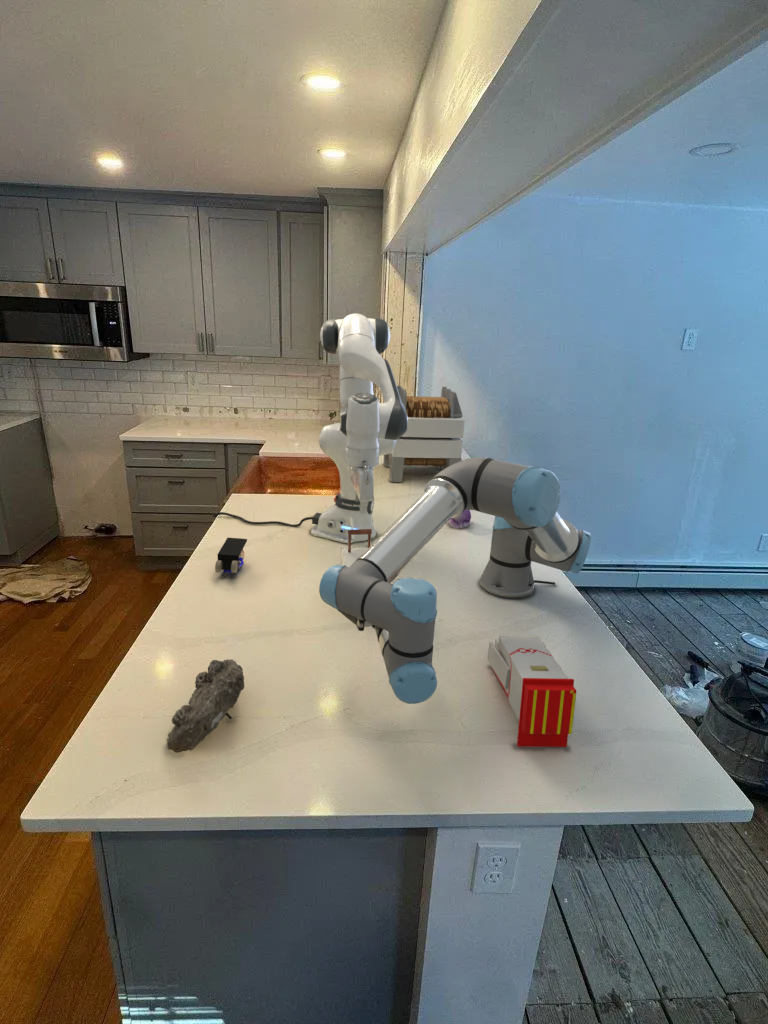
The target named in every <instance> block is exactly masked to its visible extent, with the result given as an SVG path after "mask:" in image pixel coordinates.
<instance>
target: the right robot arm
mask: <svg viewBox="0 0 768 1024" xmlns="http://www.w3.org/2000/svg"><path fill="white" fill-rule="evenodd" d="M560 489H561V484H560V481H559V478H558V476H557V475H556V474H555V473H554V472H552V471H551V470H547V469H545V468H542V467H540V466H530V465H525V464H519V463H515V462H509V461H505V460H501V459H495V458H491V457H486V456H475V457H470V458H465V459H463V460H462V461H460V462H457V463H455V464H453V465H451V466H449V467H447V468H445V469H444V470H442V471H441V472H440V471H439V472H438V473H436V474H435V475H434V476H433V477H432V478H431V479H430V480H429V481H428V482H427V483H426V484H425V486H424V490H423V493H422V494H421V496H419V498H418V499H416V500H415V501H414V502H413V503H412V505H410V506H409V507H408V508H407V509H406V510H405V511H404V512H403V513H402V514H401V515H400V516H399V517H398V518H397V519H396V520H395V521H394V522H393V523H392V524H391V525H390V526H389V527H388V528H387V529H386V530H385V531H384V532H383V533H382V534H381V535H380V536H379V537H378V538H377V539H376V540H375V541H374V542H373V543H372V544H371V546H370V547H369V548H368V547H367V548H368V549H367V550H366V551H365V552H364V553H363V554H362V555H361V556H360V557H359V558H358V559H357V560H356V561H355V562H354V563H353V564H352V565H351V566H350V567H347V566H345V565H343V566H342V565H341V564H335V565H331V566H330V567H328V568H327V569H326V570H325V572H324V573H323V575H322V577H321V578H320V582H319V585H318V587H319V588H318V592H319V597H320V599H321V601H323V603H325V604H326V605H328V606H330V607H332V608H333V609H335V610H336V611H337V612H339V613H340V614H342V615H343V616H344V618H346V619H347V620H349V621H350V622H351V623H353V624H354V625H355V627H356V628H357V630H358V631H359V632H364V631H365V628H368V627H371V628H372V629H374V631H375V635H376V637H377V642H378V644H379V649H380V652H381V656H382V658H383V661H384V665H385V668H386V672H387V676H388V684H389V685H390V687H391V689H392V691H393V694H394V696H395V697H396V698H397V699H398V700H399V701H401V702H402V703H405V704H407V705H408V704H409V705H415V704H421V703H424V702H425V701H427V700H429V699H430V698H431V697H432V696H433V695H434V693H435V691H436V690H437V686H438V678H437V675H436V674H437V672H436V669H435V668H434V666H433V657H434V637H435V630H436V629H435V628H436V619H437V614H438V609H437V608H438V607H437V601H438V600H437V595H438V593H437V589H436V588H435V585H433V584H432V583H431V582H429V580H426V579H422V578H414V577H403V578H399V579H398V580H396V581H395V582H394V583H393V584H392V582H393V581H394V580H395V579H396V578H397V577H398V576H399V575H400V574H401V572H402V571H404V569H406V567H407V566H408V565H409V564H410V563H411V562H412V561H413V559H415V557H416V556H417V555H418V554H419V553H420V552H421V551H422V550H423V549H424V548H425V547H426V545H428V544H429V542H430V541H431V540H432V539H433V538H434V537H435V536H436V535H437V533H438V532H440V530H441V529H442V528H443V527H444V526H445V525H446V524H447V523H448V522H449V519H450V518H455V517H458V516H459V515H460V514H461V513H462V512H463V511H465V510H470V511H475V512H480V513H482V514H486V515H490V516H494V520H493V525H492V533H491V542H490V544H491V545H490V552H489V559H488V562H487V563H486V565H485V568H484V569H483V571H482V573H481V575H480V586H481V588H482V589H483V590H485V591H486V592H487V593H489V594H491V595H494V596H497V597H500V598H504V599H505V598H506V599H524V598H527V597H529V596H531V595H532V594H533V592H534V590H535V584H544V585H553V586H555V585H556V582H555V581H547V580H546V581H545V580H538V579H537V580H536V579H534V575H533V569H532V562H534V563H537V564H540V565H543V566H546V567H550V568H554V569H556V570H559V571H563V572H565V573H570V574H580V572H581V571H582V569H583V567H584V564H585V561H586V559H587V557H588V553H589V550H590V547H591V541H592V534H591V533H590V532H589V531H586V530H584V529H579V528H576V527H575V526H574V524H572V523H571V522H570V521H569V520H566V519H564V518H562V517H561V516H560V514H559V513H558V509H559V506H560V501H561V491H560Z"/></svg>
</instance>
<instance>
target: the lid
mask: <svg viewBox="0 0 768 1024" xmlns="http://www.w3.org/2000/svg"><path fill="white" fill-rule="evenodd" d="M366 534H368V540H367V547H352V543H351V535H366ZM371 534H372V530H371V529H351V530H348V543H347V547H346V548H345V547H342V548H341V549H340V553H342V557H343V561H344V565H345V566H347V567H350V566H351V565H352V564H353V563H354V562H355V561H356V560H357V559H358V558H359V557H360V556H361V555H362V554H363V553H364V552H365V551H366V550H367V549H368V548H369V547H370V546H371V545H372V544H371V543H372V542H371V541H372V539H371Z"/></svg>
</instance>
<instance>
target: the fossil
mask: <svg viewBox="0 0 768 1024" xmlns="http://www.w3.org/2000/svg"><path fill="white" fill-rule="evenodd" d="M243 670H244V669H243V667H242V665H240V664H237V662H236V661H235V660H234V659H232V658H231V659H227V658H226V659H224V660H223V661H222V660H217V659H212V660H211V661H210V663H209V665H208V666H207V671H201V672H199V673H198V674H197V675H196V676H195V680H194V684H195V685H194V687H195V689H194V690H193V693H192V694H191V697H190V698H189V700H188V704H184V705H182V706H181V707H180V709H177V710H176V711H175V713H174V715H173V716H172V718H171V723H172V724H173V727H172V730H171V731H170V732H168V734H167V738H166V741H167V742H166V745H167V749H168V750H169V751H173V752H174V753H176V754H178V753H182V752H188V751H189V752H192V751H193V750H195V748H196V747H197V746H199V744H200V743H201V742H203V741H204V740H205V739H206V738H207V737H208V736H209V735H210V734H211V733H212V732H214V730H215V729H217V727H218V726H219V724H220V722H221V721H222V720H223V719H224V718H225V716H226V717H227V719H229V720H233V717H232V715H230V714H229V710H230V709H231V708H234V706H235V704H236V703H237V702H238V699H239V697H240V695H241V693H242V691H243V690H245V689H244V688H245V675H244V671H243Z"/></svg>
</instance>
